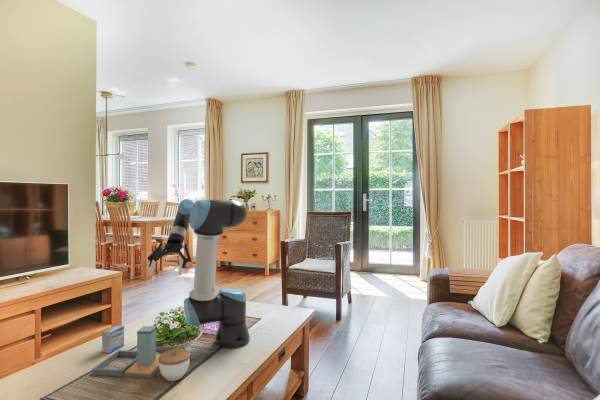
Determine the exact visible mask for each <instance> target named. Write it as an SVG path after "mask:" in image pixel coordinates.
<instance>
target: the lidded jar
mask: <svg viewBox="0 0 600 400" xmlns="http://www.w3.org/2000/svg"><path fill="white" fill-rule="evenodd" d="M190 361H191V352H190V350H188V349H185V348H173V349H169V350H165V351H163V352H162V353H160V356H159V373H160V374H161V375H162V377H163V378H165V380H166V381H170V382H172V381H173V382H174V381H178V380H180V379H182V378H183V377H184V375H186V373H187V372H188V370H189V367H190V363H191V362H190Z"/></svg>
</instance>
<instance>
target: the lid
mask: <svg viewBox="0 0 600 400" xmlns="http://www.w3.org/2000/svg"><path fill="white" fill-rule="evenodd" d="M160 355H161V353H159V354H157V353H156V360H155V361H154V363H153V364H152V365H151V366H137V362H136V363H135V364H134V365H132V366H131V367H130V368H129V369H128V370H126V371H125V373H123V374H122V376H121V377H129V378H130V377H131V378H145V379H146V378H147V379H148V378H151V379H152V377H154V375H156V373H158V372H159V371H160V369H159V356H160Z"/></svg>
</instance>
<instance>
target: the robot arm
mask: <svg viewBox="0 0 600 400" xmlns="http://www.w3.org/2000/svg"><path fill="white" fill-rule="evenodd" d="M247 216H248V210H247V207H246V206H245V205H244V203H242V202H240V201H239V200H233V199H199V200H196V201H194V200H193V199H189V198H185V199H182V200H181V201H180V203H179V205H178V208H177V211H176V214H175V218H174V221H173V224H172V227H171V229H170V232H169V234H168V235H169V236H168V237H167V241H166V244H163V243H162V242H161V243H160V242H159V244H158V247H156V248H155V249H154V250H153V251H152V252H151V254H149V255H148V257H147V258H146V259H147V261H148V262H149V265H148V267H149V269H148V271H147V272H148V274H149V276H152V275H153V273H154V270H155V268H156V264H157V263H156V262H158V260H160V259H162V258H163V257H164V256H165V255H168V254H170V255H171V254H175V255H176V254H178V255H179V256H180V258H181V259H182V260H181V261H180V265H179V268H178V272H177V273H178V275H179V276H182V274H183V272H184V269H186V267H187V263H191V262H192V258H191V255H190V252H189V245H188V243H185V244H184V241H185V239H186V236H187V235H186V234H187V233H188V228H189V227H190V229H192V230H193V233H194V234H195V235H196V236H197V237H196V251H195V262H194V263H195V264H194V265H195V266H194V276H193V279H194V280H193V289H191V290H190V292H189V294H188V297H185V298H184V300H183V308H184V309H183V310H184V314H185V318H187V319H186V321H187V324H188V325H189V326H191V325H192V326H191V327H193V326H194V327H195V326H201V325H207V324H210V323H211V324H212V323H216V322H217V323H218V322H219V324H218V328H217V330H216V334H215V338H214V340H215V341H214V342H215V345H216V346H218V347H219V348H224V349H233V348H240V347H243V346H245V345H247V344H248V343H249V342H250V332H249V329H248V327H247V323H246V322H247V321H246V320H247V317H246V316H247V314H246V313H247V311H246V310H247V307H246V306H247V296H246V292H245V291H244V290H242V289H239V288H233V287H225V288H224V287H223V288H221V289H220V290H219V292H218V291H217V290H216V289H215V288H216V287H215V285H216V284H215V283H216V275H217V262H218V252H219V238H220V237H221V236H222V235H223V233H224V229H228V228H231V229H232V228H235V227H238V226H240V225H242V224H243V223H244V222H245V221H246V219H247ZM182 249H183V250H184V251H185V253H186V254H185V255H186V256H185V255H184V254H183V251H181V250H182ZM186 257H187V258H186Z"/></svg>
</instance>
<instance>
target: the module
mask: <svg viewBox="0 0 600 400" xmlns="http://www.w3.org/2000/svg"><path fill="white" fill-rule="evenodd" d="M136 333H137V334H136V336H137V337H136V339H137V340H136V351H137V366H151V365H152V364H153V363H154V361H155V360H156V354H157V326H155V325H150V326H149V325H143V326H142V327H140V329H138V330H137V331H136Z"/></svg>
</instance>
